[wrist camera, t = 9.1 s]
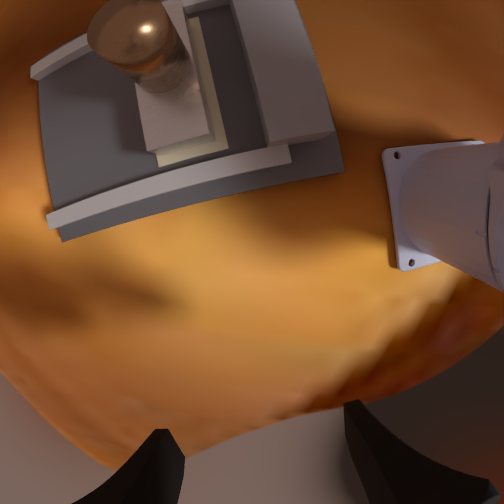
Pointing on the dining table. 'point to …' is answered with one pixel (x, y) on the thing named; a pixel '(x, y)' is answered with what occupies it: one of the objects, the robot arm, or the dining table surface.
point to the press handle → (157, 69)
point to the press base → (221, 110)
